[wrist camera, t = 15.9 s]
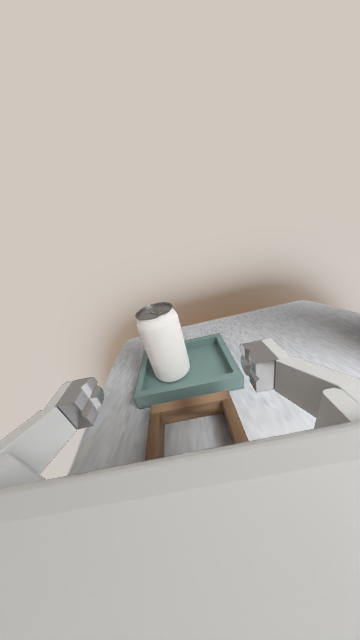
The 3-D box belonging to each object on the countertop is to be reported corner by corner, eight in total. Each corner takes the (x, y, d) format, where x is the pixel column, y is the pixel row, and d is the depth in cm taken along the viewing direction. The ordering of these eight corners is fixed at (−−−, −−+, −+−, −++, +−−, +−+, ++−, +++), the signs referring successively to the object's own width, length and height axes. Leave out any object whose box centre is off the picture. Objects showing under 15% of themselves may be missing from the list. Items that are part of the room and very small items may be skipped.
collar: (229, 402, 22) (228, 390, 21) (273, 519, 13) (275, 507, 12) (156, 417, 22) (151, 405, 21) (146, 541, 13) (137, 531, 12)
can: (170, 353, 33) (153, 300, 28) (197, 362, 29) (183, 302, 24) (148, 376, 29) (123, 317, 24) (176, 390, 25) (153, 323, 20)
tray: (220, 342, 34) (219, 333, 33) (244, 388, 24) (243, 375, 23) (148, 358, 35) (145, 348, 34) (139, 408, 24) (133, 397, 23)
